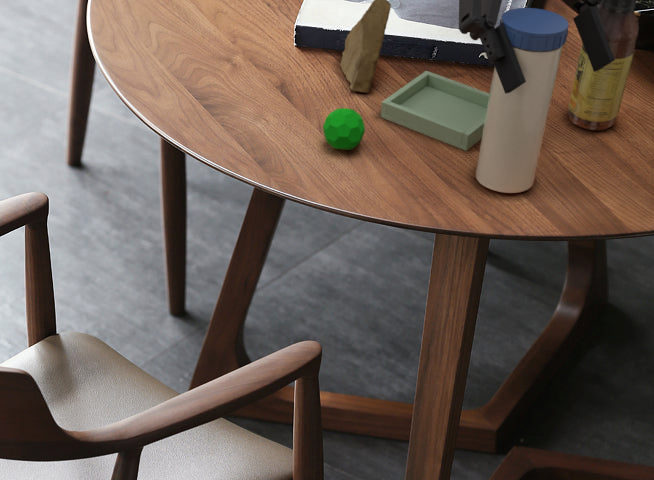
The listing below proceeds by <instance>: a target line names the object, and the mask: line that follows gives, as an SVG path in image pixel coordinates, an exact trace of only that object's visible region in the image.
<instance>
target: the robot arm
mask: <svg viewBox="0 0 654 480" xmlns="http://www.w3.org/2000/svg"><path fill="white" fill-rule="evenodd" d="M560 1H561V2H562V3H563V4H564V5H566V6H567V7H569V9H570V10H572V11H573V12H574V13H575V14H577V15H576V16H575V17H573V21H574V24H575V27H576V29H577V32H578V35H579V37H580V39H581V43H582V42H583V45H584V48H585V50H586V53H587V55H588V58H589V60H590V63H591V65H592V68H593V70H594V71H598V70H600V69H602V68H603V67H605V66H606V65H608V64H610V63H611V62H613V61H614V60H615V58H614V56H613V53H612V51H611V48H610V46H609V43H608V41H607V38H606V36H605V34H606V29H605V26H604V25H603V21H602V19H601V16H600V14H599V11H598V8H599V7H598V5H600V4H601V3H602V1H603V0H560ZM502 3H503V0H458V30H459V32H460V33H461V34H463V35H467V34H468V33H469V37H470V39H471V40H472V41H478V40H480V42H481V45H482V48H483V50H484V53H485V56H486V58H487V60H488V62H489V63H490V64H493V65H494V66H495V69H496V71H497V74H498V76H499V79H500V81H501V84H502V86H503V89H504V92H505V94H506V93H510V92H512V91H513V90H515V89H516V88H518V87H519V86H520V85H522V84H523V83H525V82H526V80H525V78H524V75H523V73H522V70H521V68H520V65H519V62H518V60H517V57H516V55H515V52H514V50H513V47H512V45H511V42H510V39H509V37H508V34H507V32H506V29H505V27H504V25H500V24H499V25H500V26H499V25H497V22H498V19H499V18H498V17H499V14H500V10H501V7H502ZM496 25H497V26H496ZM495 26H496V27H495ZM494 66H493V67H494Z"/></svg>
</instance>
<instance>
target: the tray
mask: <svg viewBox="0 0 654 480" xmlns="http://www.w3.org/2000/svg"><path fill="white" fill-rule="evenodd" d="M489 94H490V92H487V91H484V90H482V89H479V88H475V87H473V86H470V85H468V84H464V83H462V82H460V81H457V80H453V79H451V78H447V77H446V76H442V75H441V74H437V73H434V72H431V71H429V70H425V71H423V72H422V73H420V74H419V75H417V76H416V77H414V78H413V79H412V80H410V81H409V82H408V83H406V84H404V86H402V87H401V88H399V89H398V90H397V91H395V92H393V93H392V94H391V95H389V96H388V97H387V98H385V99H383V100H382V101H381V106H380V116H379V117H380V118H381V119H384V120H385V121H388V122H392V123H394V124H397V125H399V126H401V127H404V128H407V129H410V130H411V131H415V132H417V133H420V134H422V135H425V136H427V137H430V138H432V139H435V140H437V141H440V142H442V143H445V144H447V145H450V146H452V147H455V148H458V149H460V150H462V151H465V152H467V151H468V150H469V149H470V148H472V147H473V146H474V145H476V144H477V143H478V142H479V141H481V140H482V134H483V128H484V123H485V117H486V111H487V106H488V100H489Z"/></svg>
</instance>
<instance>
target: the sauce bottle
mask: <svg viewBox="0 0 654 480" xmlns="http://www.w3.org/2000/svg"><path fill="white" fill-rule="evenodd" d="M636 2H637V0H603V1H602V2H601V3H600V4H599V7H597V8H598V11H599V14H600V16H601V19H602V21H603V25H604V26H605V29H606V34H605V36H606V38H607V41H608V43H609V46H610V48H611V51H612V53H613V56H614V58H615V60H614V61H613V62H611V63H610V64H608V65H606V66H605V67H603V68H602V69H600V70H598V71H594V70H593V68H592V65H591V63H590V60H589V58H588V55H587V53H586V50H585V48H584V45H583V42H582V41H581V45H580V46H581V47H580V51H579V55H578V62H577V65H576V69H575V74H574V78H573V82H572V87H571V92H570V96H569V101H568V118H569V121H570V122H571V123H572V124H573V125H575V126H577V127H579V128H582V129H584V130H588V131H597V132H598V131H605V130H607V129H609V128H610V127H612V126H613V125H615V123H616V121H617V117H618V114H619V113H620V108H621V105H622V100H623V97H624V93H625V89H626V85H627V82H628V78H629V74H630V71H631V70H630V69H631V66H632V63H633V58H634V54H635V50H636V43H637V39H638V36H639V29H640V28H639V21H638V18H637V15H636V13H635V10H634V9H635V7H636V5H637V3H636Z"/></svg>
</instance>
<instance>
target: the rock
mask: <svg viewBox="0 0 654 480" xmlns="http://www.w3.org/2000/svg"><path fill="white" fill-rule="evenodd" d="M391 9H392V4H391V3H390V2H389V1H388V0H373V1H372V2H371V3H370V5H369V7H368V8H367V10H366V11H365V12H364V13H363V15H362V17H361V18H360V19H359V20H358V21H357V22H356V24H355V25H354V26H353V27H352V28H351V29H350V31H349V33H348V34H347V36H346V38H345V42H344V50H343V51H342V52H341V55H342V57H341V60H340V63H339V66H340V67H341V71H342V72H343V74H344V76H345V77H346V80H347V81H348V82H349V83H350V85H349V89H350V90H351V91H352V92H358V93H365V94H367V93H369V92H370V89H371V86H372V82H373V81H374V77H375V74H376V70H377V65H378V62H379V58H380V54H381V50H382V47H383V43H384V38H385V35H386V34H385V33H386V29H387V24H388V21H389V17H390V12H391Z"/></svg>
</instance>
